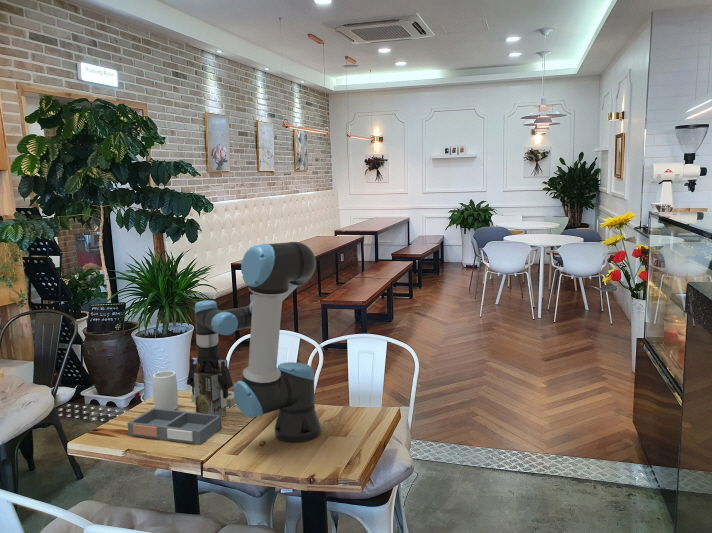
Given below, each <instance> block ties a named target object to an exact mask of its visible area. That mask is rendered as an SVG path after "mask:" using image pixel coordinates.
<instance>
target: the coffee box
mask: <svg viewBox="0 0 712 533" xmlns="http://www.w3.org/2000/svg"><path fill="white" fill-rule="evenodd" d="M220 371H221V372H219V373H218V374H213V373H212V371H208V370H207V371H202V372H201V373H198V371H196V372H195V373H194V383H195V398H196V405H195V413H203V414H212V415H221V416H222V417H223V416H226V415H227V410H226V409H227V408H226V406H225V407H224V408H221V395H220V390H221V389H222V387H221V386H220V384H219V382H218V375H221V376H223V373H222V370H220Z"/></svg>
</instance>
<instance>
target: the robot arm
mask: <svg viewBox="0 0 712 533" xmlns="http://www.w3.org/2000/svg"><path fill="white" fill-rule="evenodd" d="M240 266H241V267H240V269H241V270H240V271H241V274H242V280H243V281H244V284H246V285H247V287H248V290H249V291H250V292H251V294H252V301H251V302H250V303H249V304H248V305H247V306H240V307H237V308H231V309H224V310H221V309H218V304H217V301H215V300H210V299H209V300H201V301H197V302H196V303H195V304H194V320H195V321H194V322H195V335H196V336H195V338H196V340H195V341H196V345H197V346H196V354H197V355H196V356H197V357H196V356H195V357H192V358H190V360H189V364H190V366H189V370H188V374H187V380H186V385H189V386H191V393H192V394H191V395H194V400H195V403H194V406H196V398H195V383H194V373H195V372H198V373H201V372H202V371H207V370H208V371H212V373H213V374H218V373H219V372H221V371H222V373H223V376H221V375H218V382H219V384H220V386H221V387H222V389H221V390H220V395H221V408H224V407H225V406H227V397H228V391H229V390H230V389H231V388H232V387H233V392H234V397H235V401H236V403H237V405H236V406H237V408H238V409H239V411H240V412H241V413H242V415H243V416H245V417H247V418H254V417H261V416H263V415H265V414H269V413H273V412H275V411H277V410H278V414H277V418H276V421H275V425H274V437H275V438H277V439H278V440H280V441H282V442H287V443H288V442H289V443H301V442H303V443H304V442H308V441H311V440H313V439H316V438H317V437H319V435H320V434H321V432H322V431H321V429H322V428H321V422H320V420H319V417H318V415H317V411H316V407H315V380H316V378H315V375H314V374H315V372H314V368H313V367H312V366H311V365H309V364H306V363H301V362H300V363H299V362H290V361H289V362H288V361H287V362H282V363H279V364H278V354H279V342H280V331H281V318H282V307H283V301H284V300H285V299H286V298H288V296H289V295H290V294H291V293H293V292H294V291H295V290H296V288H297V287H301V286H304V285H305V284H306V283H307V282H308V281H309V280H311V278H312V276H313V275H314V273H315V272H316V268H317V259H316V256H315V253H314V252H313V250H312V249H311V248H310V247H309V246H308V245H306V244H304V243H303V242H299V241H289V242H279V243H278V242H277V243H276V242H275V243H261V244H258V245H253V246H250V247H249V248H248V249H247V250H246V251H245V252H244V254H243V257H242V260H241V264H240ZM245 329H250V336H249V349H248V350H249V351H248V364H247V365H248V366H246V367H245V368H244V369H243V371H242V379H241V380H238V381H236V382H235V383H233V380H232V376H231V373H230V370H229V367H228V359H221V358H220V356H219V355H220V346H219V335H222V336H230V335H232V334H234V333H235V332H236V331H239V330H245ZM197 365H199V367H198V369H197Z"/></svg>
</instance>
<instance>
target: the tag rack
mask: <svg viewBox="0 0 712 533" xmlns="http://www.w3.org/2000/svg"><path fill="white" fill-rule="evenodd" d="M222 417H223V416H221V415H212V414H203V413H196V412H192V411H184V410H182V411H181V410H177V409H175V410H167V409H158V408H155V407H153V408H151V409H149V410H147V411H146V412H144V413H142V414H140V415H139V416H137V417H135V418H134V419H132V420H130V421H129V422H127V435H128V436H129V437H139V438H144V439H145V438H147V439H155V440H161V441H169V442H176V443H183V444H191V445H202V444H203V443H204V442H205V441H207V440H209V439H210V438H211V437H212V436H213V435H215V434H217V432H218V431H220V430H221V429H222V428H223V425H222V424H223V421H222V420H223V418H222Z"/></svg>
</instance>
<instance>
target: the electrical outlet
mask: <svg viewBox="0 0 712 533" xmlns="http://www.w3.org/2000/svg"><path fill="white" fill-rule="evenodd" d="M190 397H191V403H194V402H195V400H194V395H193V394H191V396H190ZM235 404H237V403H236V401H235V397H234V391H231V390H230V391H229V390H228V397H227V406H226V407H229V408H228V409H232V408H233V407H232V406H234V405H235ZM231 407H232V408H231ZM234 407H235V406H234Z"/></svg>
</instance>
